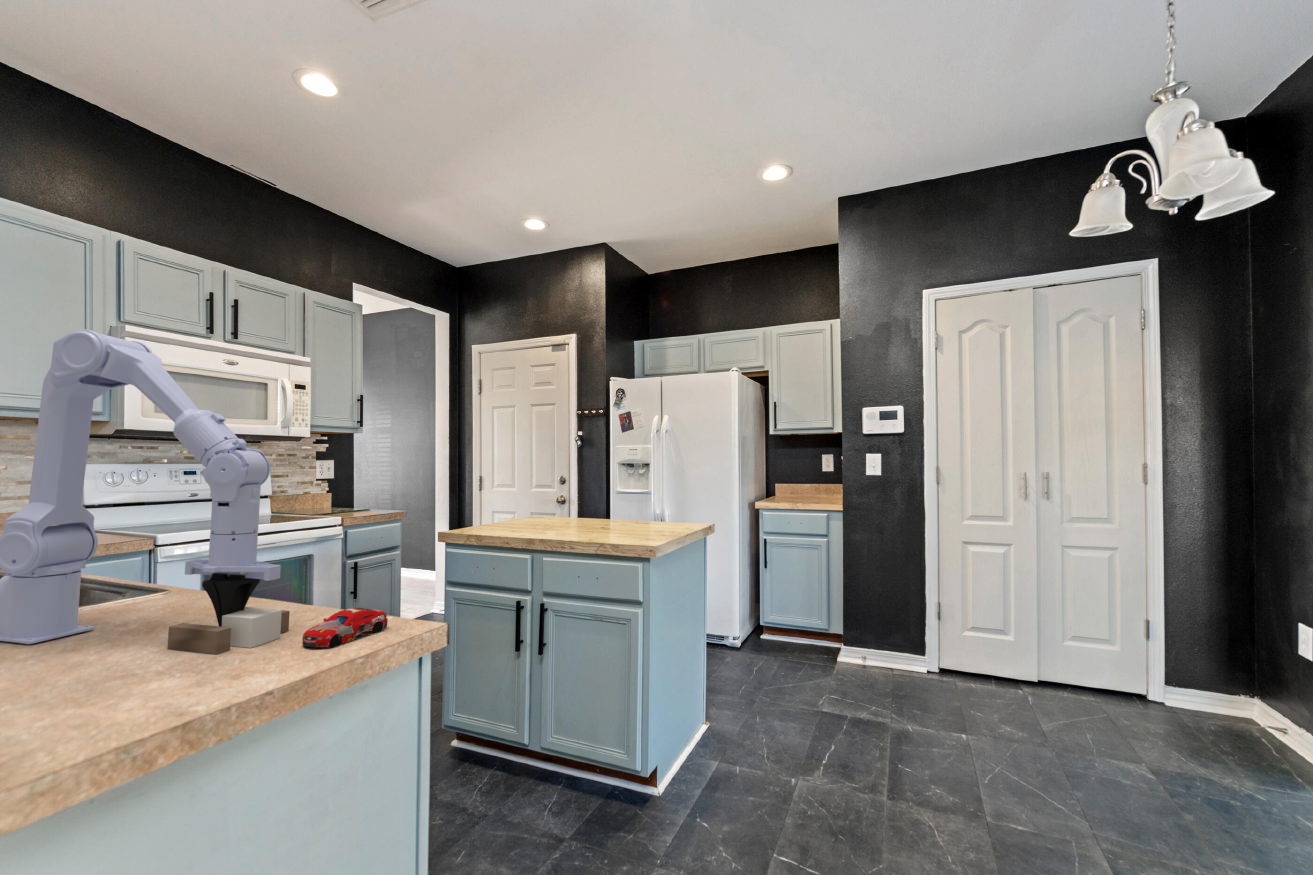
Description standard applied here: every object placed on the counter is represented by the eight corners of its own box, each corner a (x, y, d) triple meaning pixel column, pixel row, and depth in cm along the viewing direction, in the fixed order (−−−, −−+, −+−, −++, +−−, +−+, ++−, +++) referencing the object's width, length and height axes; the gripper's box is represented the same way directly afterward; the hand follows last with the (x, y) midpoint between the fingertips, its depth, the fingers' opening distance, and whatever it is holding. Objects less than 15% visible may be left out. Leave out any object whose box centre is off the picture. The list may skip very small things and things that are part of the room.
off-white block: (220, 644, 85) (222, 615, 85) (250, 635, 90) (252, 607, 90) (251, 647, 84) (252, 618, 84) (280, 637, 89) (281, 610, 89)
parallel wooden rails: (167, 648, 82) (168, 626, 83) (244, 626, 94) (245, 606, 94) (216, 654, 81) (217, 631, 81) (288, 630, 92) (289, 610, 93)
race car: (321, 654, 83) (322, 624, 83) (292, 649, 85) (293, 620, 85) (394, 629, 95) (394, 604, 96) (367, 625, 97) (368, 600, 97)
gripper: (166, 532, 86) (160, 630, 85) (253, 538, 83) (247, 639, 82) (212, 528, 93) (207, 618, 92) (294, 532, 90) (289, 626, 89)
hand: (229, 627), depth 88 cm, fingers closed
